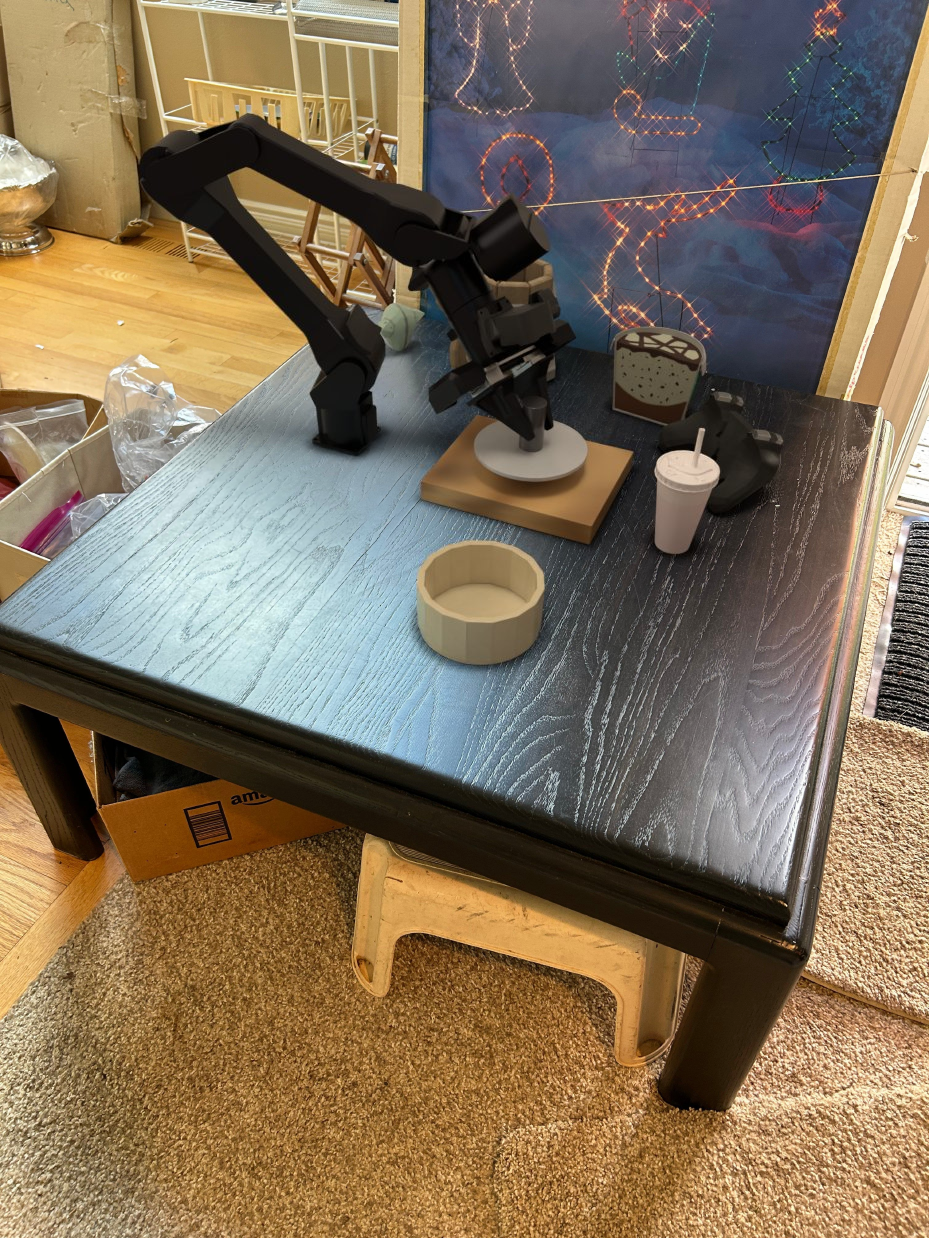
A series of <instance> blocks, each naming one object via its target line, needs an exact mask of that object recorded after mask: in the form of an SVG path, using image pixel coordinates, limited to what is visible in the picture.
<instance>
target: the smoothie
mask: <svg viewBox="0 0 929 1238" xmlns="http://www.w3.org/2000/svg"><path fill="white" fill-rule="evenodd" d="M704 432H705V429H704V428H700V429H699V433H698V437H697V442H696V447H695V449H694V451H692V450H685V451H684V450H682V451H672V452H669V453H664V454H662V455H660V456H659V458H658V459H657V460H656V465H655V468H654V476H655V477H656V480H657V481H656V498H655V499H656V503H655V506H656V507H655V522H654V523H655V524H654V525H655V526H654V527H655V528H654V529H655V530H654V544H655V547H656V548H657V549H658V550H660V551H661V552H663V553H666V554H670V555H679V554H683V553H685V552H687V551H688V550H689V548H690V546H691V544H692V541H693V538H694V537H695V533H696V531H697V529H698V526H699V523H700V520H701V518H702V516H703V513H704V511H705V508H706V506H707V504H708V503H707V501H708V498H709V496H710V493H711V491H712V490H713V489H714V488H716V487H717V485H718V484H719V480H720V479H719V474H720V469H719V466H718V465H717V463H716V462H715V461H714V460H712V459H711V458H709V457H708V456H706V455H703V454H701V453H700V450H701V446H702V441H703V437H704Z"/></svg>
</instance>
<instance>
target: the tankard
mask: <svg viewBox="0 0 929 1238" xmlns="http://www.w3.org/2000/svg"><path fill="white" fill-rule="evenodd" d="M480 269H481V268H480ZM481 271H482V270H481ZM482 272H483V271H482ZM483 274H484V272H483ZM484 276H485V278H486V280H487V282H488V283H489V285H490V287H491V289H492V291H493V292H494V294H495V296H496V298H497V299H499V298H501V297H504V296H505V297H506V298H507V299H509V300H510V302H511V304H512V306H513V307H519V306H522V305H524V304H527V303H528V300H529V295H530V294H531V293H533V292H536V291H538V290H540V289H545V288H550V290H551V291H552V293H553V294H554V296H555V297H556V299H557V300H558V295H557V290H556V282H555V281H554V268H553V265H552V264H551V263H550V262H548V261H545V260H543V259H541V258H539V259H538V260H536V261H535V262H534V263H532V264H531V265H529V266H528V267H526V268H525V269H524V270H522V271H521V272H519V273H518V274H516V275H515V276H514V277H512V278H511V279H509V280H508V281H506V282H503V281H501V280H499V281H498V282H495V281H494V280H493V279H490V278H488V277H487V276H486V275H485V274H484ZM435 304H436V305H437V307H438V309H439V310H440V311H442V309H441V307H440V306H439V304H438V302H437V300H436V299H435ZM448 349H449V365H450V367H451V370H453V369H456V368H458V367H460V366H462V365H464V364H466V363H468V362H470V359H469V358H468V356H467V354H466V352H465V350H464V349H463V347H462V345H461V343H460V341H459V340H458V339H456V340H454V341H452V342H451V341H450V345H449V348H448ZM511 374H512V372H511V370H509V371H507V372H505V373H503V375H504V377H507V376H509V375H511ZM514 378H515V377H514ZM555 378H556V357H555V356H554V359H553V360H551V361H550V364H549V368H548V371H547V382H549V381H552V380H553V379H555Z"/></svg>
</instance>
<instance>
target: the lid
mask: <svg viewBox="0 0 929 1238" xmlns="http://www.w3.org/2000/svg"><path fill="white" fill-rule="evenodd" d="M520 405H521V407H522V409H523V411H524V413H525V414H526V416H527V418H528V420H529V422H530V424H531V426H532V429H533V431H534V434H535V438H534V439H533V440H531V441H527V440H525V439H524V438H523V437H521V436H520V435H518V434H517V433H516V432H514V431H513V430H511V429H510V428H509V427H507V426H506V425H505V424H503V423H502V422H500V421H497V422H494V423H492V424H490V425H488V426H486V427H485V428H484V429H482V430H481V431H480V432H479V433H478V435H477V436H476V438H475V441H474V453H475V456H476V457H477V459H478V461H479V462H480V463H481V464H482V465H483V466H484V467H486V468H487V469H489V470H490V471H492V472H494V473H496V474H498V475H501V476H503V477H507V478H510V479H515V480H521V481H533V482H539V481H549V480H555V479H559V478H563V477H565V476H568V475H570V474H572V473H574V472H575V471H577V470H578V469H579V468H581V466H582V465H583V464H584V463H585V461H586V458H587V454H588V447H587V444H586V442H585V440H586V439H585V438H584V437H583V435H581V433H579V432H578V431H577V430H576V429H574V428H573V427H571V426H570V425H567V424H565V423H562V422H559V421H556V420H553V423H554V427H553V428H552V429H550V430H548V431H546V430H545V421H546V410H547V401H546V400H545V399H544V398H542V397H539V396H527V397H525V398H523V399H522V401H521V400H520Z"/></svg>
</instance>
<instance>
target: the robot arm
mask: <svg viewBox="0 0 929 1238" xmlns="http://www.w3.org/2000/svg"><path fill="white" fill-rule="evenodd" d="M245 168H247V169H251V170H252V171H254V172H256V173H258V174H260V175H262V176H264V177H266V178H267V179H269V180H270V181H271V180H272V181H274V182H275V183H277V184H279V185H281V186H283V187H285V188H286V189H289V190H290V191H293V192H295V193H297V194H298V195H300V196H302V197H304V198H306V199H308V200H310V201H312V202H314V203H316V205H319V206H322V207H323V208H325V209H327V210H329V211H331V212H333V213H335V214H337V215H339V216H340V217H342V218H344V219H346V220H348V221H350V222H351V223H352V224H354V225H355V226H357V227H359V228H360V230H362V232H363V233H364V234H365V235H366V236H367V238H368V239H369V240H370V241H371V242H372V243H373V244H374V245H375V246H376V247H377V248H379V249H380V250H382V252H384V253H385V254H387V255H388V256H390V257H391V258H392V259H394V260H395V261H396V262H398V263H399V264H401V265H403V266H405V267H408V268H411V275H410V278H409V281H408V285H407V290H408V291H409V292H424V291H425V290H427V289H428V288H429V290H430V291H431V293H432V295H433V296H434V298H435V301H436V300H437V302H438V304H439V306H440V307H441V309H442V310H441V311H442V313H443V314H444V316H445V318H446V320H447V322H448V324H449V326H450V327H451V329H450V330H449V331H448V332H446V336H447V337H448V339H449V341H450V343H451V342H452V341H454V340H456V339H458V340H459V341H460V343H461V345H462V347H463V349H464V350H465V352H466V354H467V356H468V358H469V359H470V362H468V363H466V364H464V365H462V366H460V367H458V368H456V369H451V370H449V371H448V372H447V373H445V374H444V375H443V376H442V377H440V379H438V380H436V382H435V383H433V384H432V385H431V386H430V387H428V402H429V404H430V406H431V408H432V410H433V411H434V413H435V415H440V414H441V413H443V412H445V411H447V410H450V409H451V408H453V407H455V406H456V405H457V404H458V400H459V399H460V398H461V397H463V396H464V395H466V394H468V393H469V394H470V396H471V399H470V400H469V401H467V402H466V403H465V404H466V406H467V407H468V408H471V407H476V408H478V409H479V410H480V411H482V412H484V413H486V414H488V415H489V416H491V417H493V419H497V420H499V421H500V422H502V423H503V424H505V425H506V426H507V427H509V428H510V429H511V430H513V431H514V432H516V433H517V434H518V435H520V436H521V437H523V438H524V439H525V440H527V441H531V440H533V439H534V438H535V434H534V431H533V429H532V426H531V424H530V422H529V420H528V418H527V416H526V414H525V413H524V411H523V409H522V407H521V401H522V399H523V398H525V397H527V396H539V397H542V398H544V399H545V400H546V401H547V410H546V421H545V430H546V431H548V430H550V429H552V428H553V427H554V423H553V421H554V418H553V412H552V406H551V401H550V396H549V395H550V394H549V389H548V381H547V371H548V368H549V364H550V361H551V360H553V359H554V357H555V354H556V353H557V352H558V351H560V350H561V349H562V348H564V347H565V346H566V345H568V344H570V343H571V342H573V341H574V340H575V339H577V336H576V333H575V332H574V331H573V329H572V327H571V325H570V323H569V321H565V320H563V319H560V318H559V317H560V316H561V311H562V310H561V306H560V304H559V301H558V298H557V299H556V297H555V296H554V294H553V293H552V291H551V290H550V288H545V289H540V290H538V291H536V292H533V293H531V294H530V295H529V300H528V303H527V304H524V305H522V306H519V307H513V306H512V304H511V302H510V300H509V299H507V298H506V297H505V296H504V297H501V298H499V299H497V298H496V296H495V294H494V292H493V291H492V289H491V287H490V285H489V283H488V282H487V280H486V278H485V276H484V274H485V275H486V276H487V277H488V278H490V279H493V280H494V281H495V282H498V281H499V280H501V281H503V282H506V281H508V280H509V279H511V278H512V277H514V276H515V275H516V274H518V273H519V272H521V271H522V270H524V269H525V268H526V267H528V266H529V265H531V264H532V263H534V262H535V261H536V260H538V259H541V258H542V257H544V256H545V255H546V254H548V253H549V252H551V250H552V247H551V242H550V239H549V237H548V234H547V232H546V230H545V227H544V226H543V224H542V222H541V221H540V219H539V218H538V216H537V214H536V213H535V212H534V211H531V209H530V208H529V207H527V206H526V204H524V203H523V202H521V201H519V200H518V198H517V197H516V196H515V194H514V192H510V193H508V194H507V195H506V196H504V197H503V198H502V199H501V200H500V201H499V202H498V203H497V204H496V206H494V207H493V208H492V209H490V210H489V211H488V212H487V213H485V214H484V215H482V217H480V218H479V219H478V218H477V217H476V216H475V215H472V214H469V213H466V212H463V211H460V210H457V209H454V208H450V207H448V206H445V205H444V204H443V202H442V201H441V200H440V199H439V198H438V197H437V196H435V195H434V194H433V193H429V192H428V191H427V192H426V191H424V190H422V189H421V190H420V189H418V188H416V187H413V186H409V185H406V184H402V183H396V182H388V181H381V180H378V179H375V178H372V177H369V176H367V175H365V174H364V173H362V172H359V171H358V170H356V169H354V168H353V167H351V166H349V165H347V164H345V163H343V162H342V161H339V160H338V159H335V158H334V157H332V156H330V155H328V154H326V153H324V152H322V151H320V150H318V148H315V147H313V146H312V145H309V144H307V143H306V142H303V141H302V140H300V139H299V138H296V137H295V136H293V135H290V134H289V133H287V132H285V131H283V130H281V129H280V128H277V127H275V126H274V125H272V124H270V123H269V122H268V121H267V120H266V119H264V118H263V117H262V116H260V115H259V114H255V113H245V114H242V115H240V116H239V117H238V118H236V119H234V120H231V121H227V122H225V123H220V124H216V125H213V126H210V127H208V128H206V129H204V130H201V131H198V132H194V131H193V130H185V129H176V130H171V131H170V132H169V133H167V134H166V135H165V136H164V137H162V138H161V139H159V140H158V141H157V142H156V143H154V144H153V145H152V146H150V147H149V148H148V149H147V150H145V151H144V152H143V153H142V155H141V157H140V159H139V162H138V175H139V184H140V186H141V189H142V190H143V191H144V192H145V193H146V195H147V196H148V197H149V198H150V199H151V200H152V201H153V202H155V203H156V204H157V205H158V206H159V207H161V208H162V209H163V210H164V211H166V212H167V213H168V214H170V215H171V216H172V217H173V218H175V220H178V221H179V222H181V223H184V224H186V225H188V226H190V227H193V228H195V229H197V230H199V231H201V232H204V233H205V234H207V235H208V236H209V237H210V238H211V239H212V240H213V241H214V242H215V244H217V245H218V246H219V247H220V248H221V250H223V251H224V252H225V253H226V255H227V256H228V257H229V258H230V259H231V260H232V261H233V262H234V263H235V264H236V265H237V266H238V267H239V268H240V269H241V270H242V272H244V273H245V274H246V275H247V276H248V277H249V278H250V279H251V281H253V283H254V284H255V285H256V286H257V287H258V288H259V289H260V290H261V291H262V292H263V293H264V294H265V295H266V296H267V297H268V298H269V300H270V301H272V303H273V304H275V306H276V307H277V308H278V309H279V310H280V311H281V312H282V313H283V314H284V315H285V316H286V317H287V319H289V320H290V321H291V322H292V324H294V325H295V326H296V328H297V329H298V330H299V331H301V333H302V334H303V335H304V336H305V339H306V341H307V343H308V345H309V348H310V351H311V353H312V355H313V357H314V361H315V362H316V364H317V365H318V368H320V370H319V373H318V375H317V377H316V379H315V381H314V383H313V385H312V387H311V389H310V391H309V397H310V398H311V401H312V403H313V404H314V407H315V413H316V423H317V430H318V432H317V434H315V436H314V437H312V438H311V443H312V445H314V446H318V447H322V448H327V449H329V450H330V449H331V450H334V451H337V452H341V453H346V454H350V455H352V456H353V455H354V456H358V455H360V454H362V452H364V450H365V449H366V448H367V447H368V446H369V445H370V443H372V441H373V440H374V439H376V438H377V437H378V436H379V434H380V433H381V432H382V427H381V426H379V425H378V412H377V405H376V404H374V398H373V391H372V390H371V389H372V388H373V387H374V386H375V384H376V381H377V378H378V377H379V374H380V371H381V369H382V367H383V364H384V361H385V358H386V355H387V344H386V341H385V338H384V337H383V336H382V335H381V333H380V332H381V330H382V327H380V326H378V325H377V323H375V322H374V321H372V320H371V318H370V317H369V316H368V315H367V313H366V311H365V310H364V308H363V307H362V306H361V305H360V304H358V303H356V304H354V306H353V307H352V309H351V310H347V309H345V308H344V307H341V306H340V305H336V304H335V303H334V302H332V301H331V299H330V298H329V297H327V295H326V294H325V293H324V292H323V291H322V290H321V289H320V288H319V286H318V285H317V284H316V283H315V282H314V281H313V280H312V279H311V278H310V277H309V275H307V274H306V273H305V271H304V270H303V269H302V268H301V267H300V266H299V264H297V262H295V261H294V259H293V258H292V257H291V256H290V255H289V254H288V253H287V251H286V250H284V248H283V247H282V246H281V245H280V244H279V243H278V242H277V241H276V240H275V239H274V238H273V237H272V235H271V234H269V232H268V231H267V230H266V229H265V228H264V227H263V225H261V224H260V222H258V220H257V219H256V218H255V217H254V216H253V215H252V214H251V212H250V211H249V210H247V208H246V207H245V206H244V205H243V204H242V202H241V201H240V200H239V198H238V197H237V196H238V195H237V194H236V192H235V189H234V188H233V185H232V182H231V179H230V177H229V175H231V174H233V173H235V172H238V171H240V170H242V169H245ZM480 268H481V269H480ZM481 270H482V271H483V272H484V274H483V272H482V271H481ZM509 370H511V372H512V374H511V375H509V376H507V377H504V375H503V373H505V372H507V371H509ZM514 377H515V378H514ZM518 398H519V399H520V401H519V399H518Z"/></svg>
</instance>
